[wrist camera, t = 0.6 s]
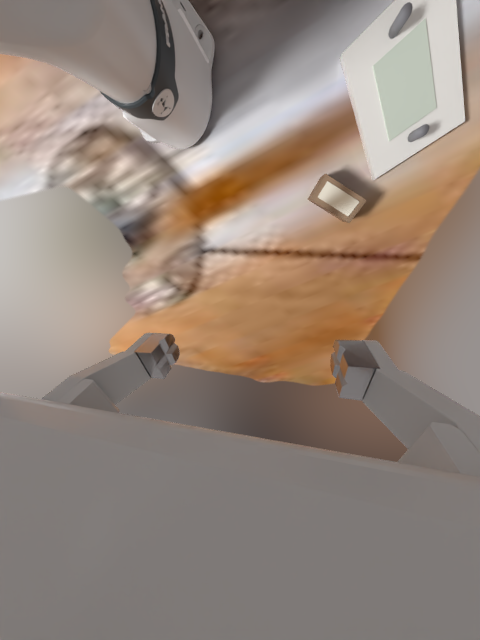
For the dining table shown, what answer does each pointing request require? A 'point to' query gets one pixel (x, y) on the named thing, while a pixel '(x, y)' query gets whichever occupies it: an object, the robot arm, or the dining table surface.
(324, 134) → the dining table surface
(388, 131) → the wall panel
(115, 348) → the dining table surface
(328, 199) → the walnut frame
